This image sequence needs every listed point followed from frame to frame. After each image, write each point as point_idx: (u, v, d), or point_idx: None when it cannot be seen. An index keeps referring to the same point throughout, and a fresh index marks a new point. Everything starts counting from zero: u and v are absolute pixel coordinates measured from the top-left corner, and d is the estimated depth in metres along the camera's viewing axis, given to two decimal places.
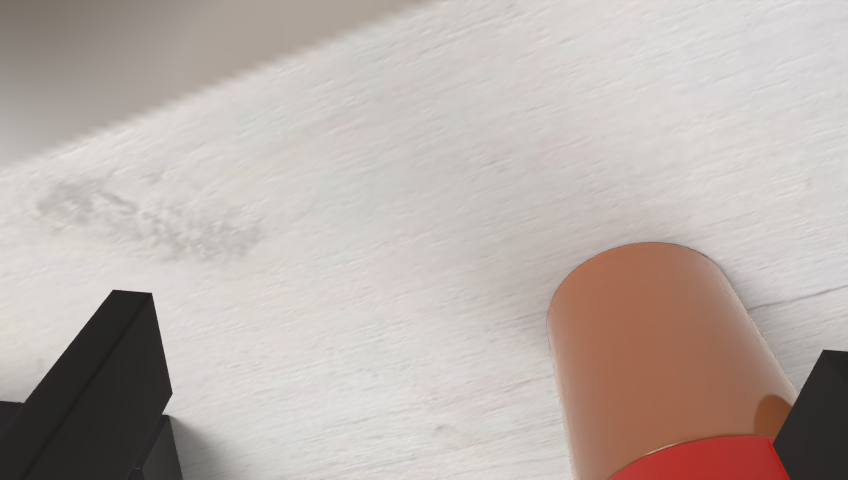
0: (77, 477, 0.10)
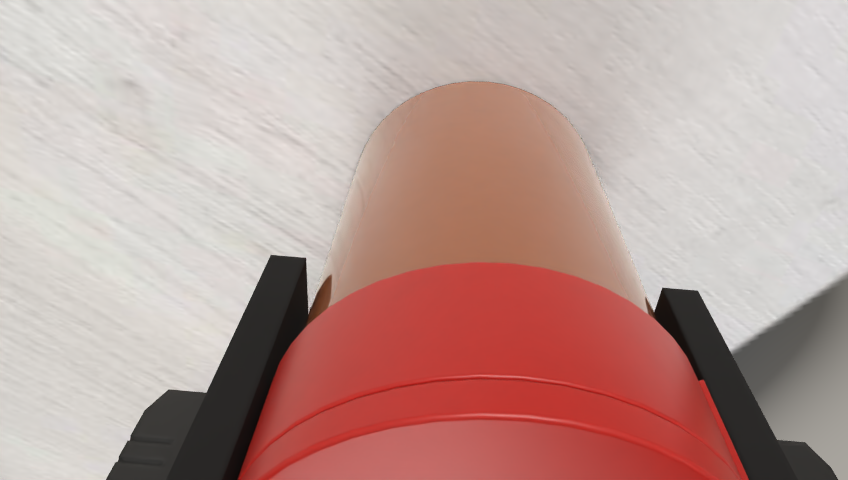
0: None
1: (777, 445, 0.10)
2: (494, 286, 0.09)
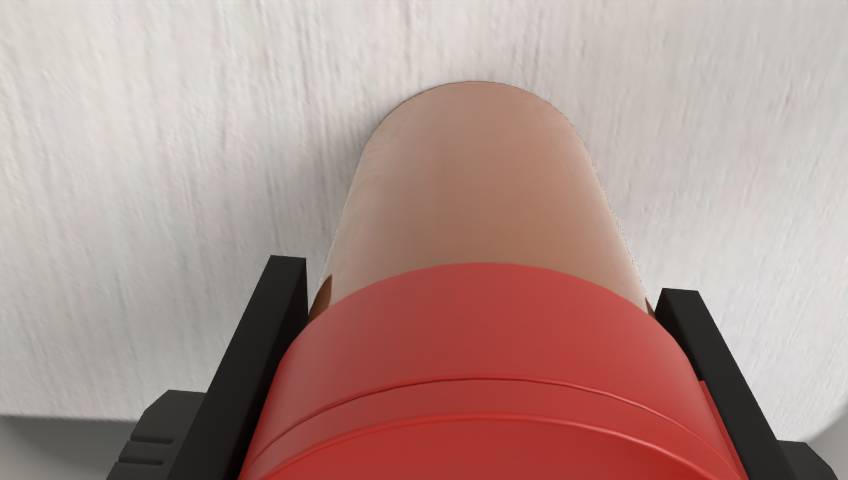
0: None
1: (777, 445, 0.10)
2: (494, 286, 0.09)
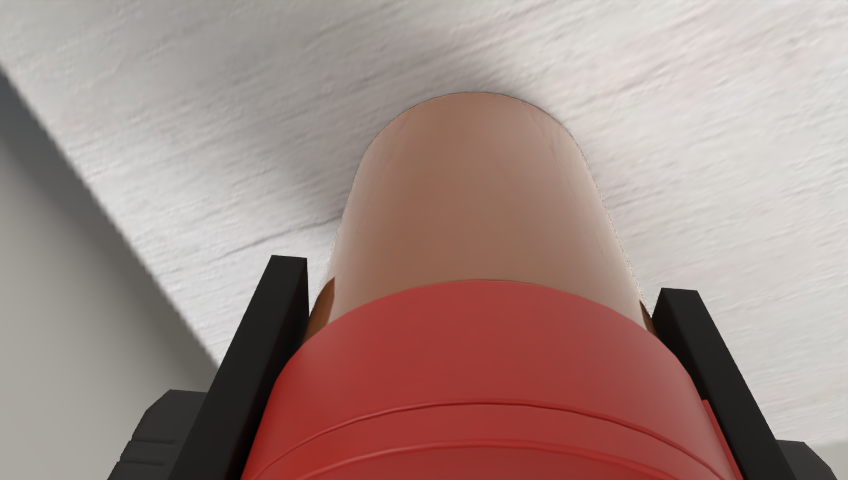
0: None
1: (776, 445, 0.10)
2: (493, 306, 0.09)
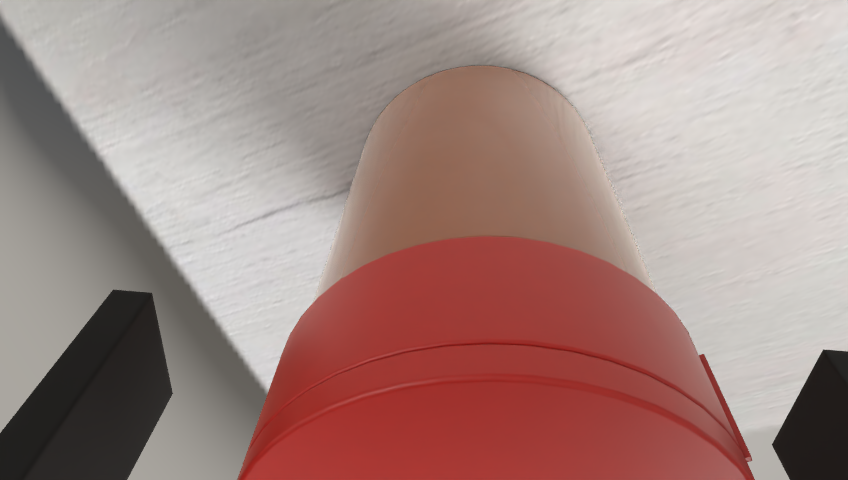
0: (77, 477, 0.10)
1: None
2: (500, 259, 0.09)
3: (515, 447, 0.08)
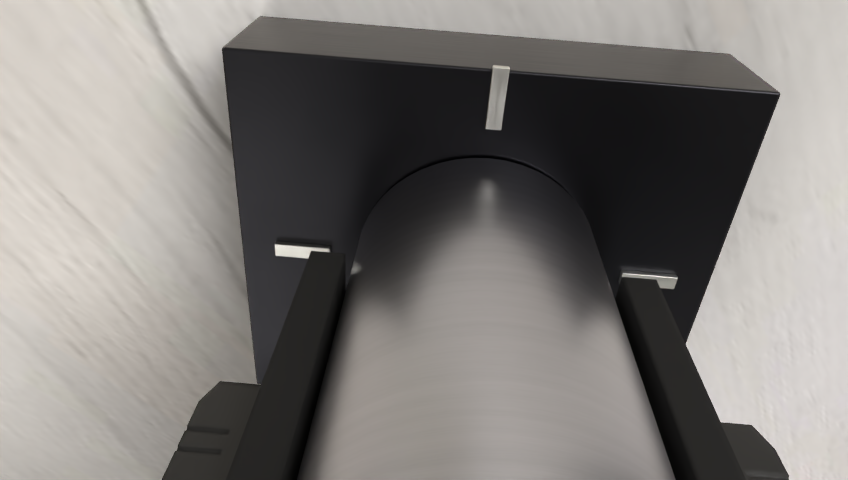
0: None
1: (720, 426, 0.10)
2: None
3: None
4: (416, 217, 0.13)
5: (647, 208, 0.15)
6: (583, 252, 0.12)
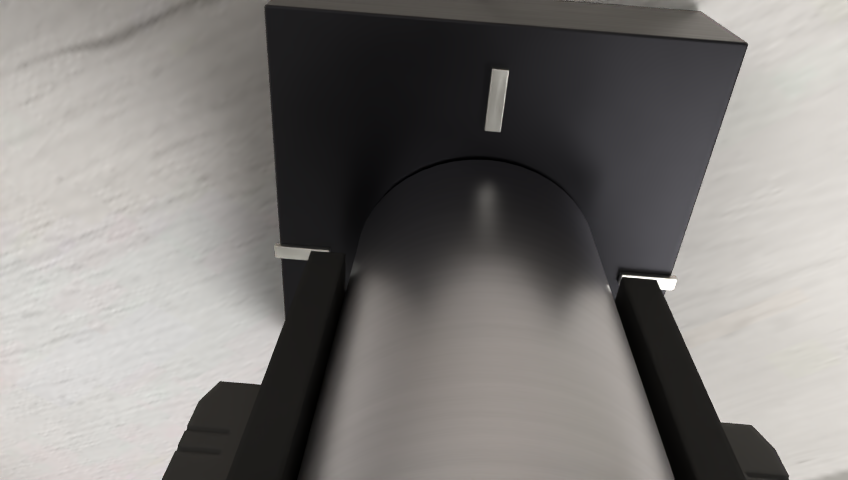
0: None
1: (720, 426, 0.10)
2: None
3: None
4: (415, 219, 0.13)
5: None
6: (582, 253, 0.12)
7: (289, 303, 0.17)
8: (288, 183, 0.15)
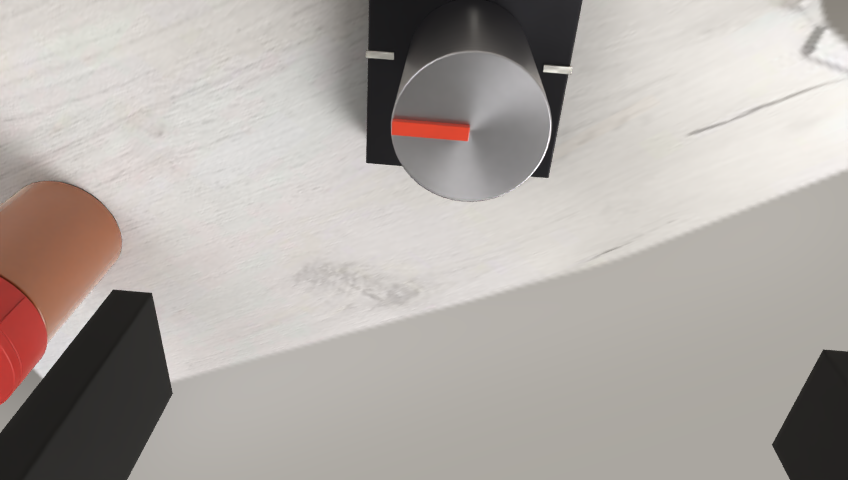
0: (77, 477, 0.10)
1: None
2: None
3: None
4: (441, 15, 0.28)
5: None
6: (516, 29, 0.27)
7: (370, 87, 0.32)
8: (375, 14, 0.30)
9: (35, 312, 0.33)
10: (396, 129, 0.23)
